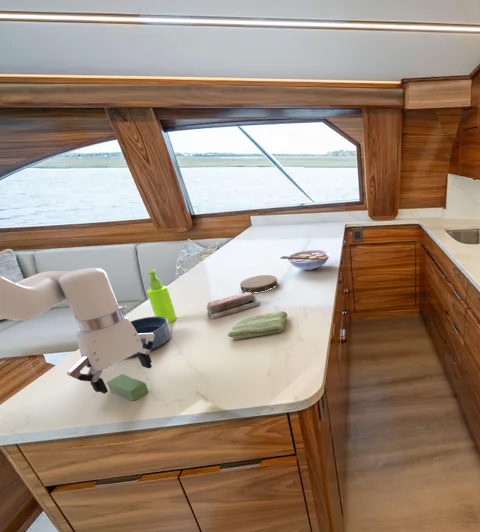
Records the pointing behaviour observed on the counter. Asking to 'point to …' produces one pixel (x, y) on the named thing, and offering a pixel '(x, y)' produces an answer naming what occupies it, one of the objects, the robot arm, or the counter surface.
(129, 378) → the green bar
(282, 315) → the washcloth
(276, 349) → the counter surface
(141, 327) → the bowl
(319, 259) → the ramen bowl
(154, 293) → the soap dispenser
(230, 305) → the packaged product
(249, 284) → the brown round disc
